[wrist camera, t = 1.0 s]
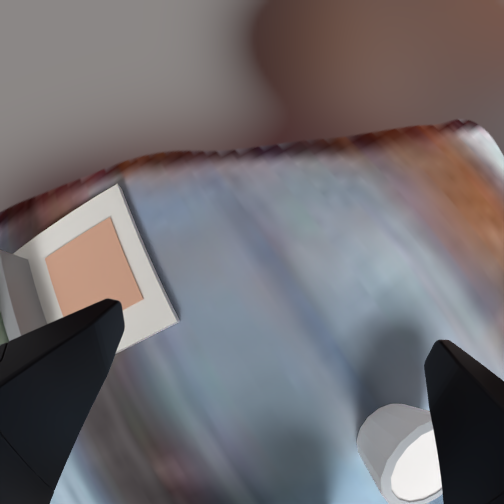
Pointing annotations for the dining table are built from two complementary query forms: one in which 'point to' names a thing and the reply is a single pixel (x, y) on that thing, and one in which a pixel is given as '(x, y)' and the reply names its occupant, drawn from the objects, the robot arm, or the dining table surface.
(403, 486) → the white cup
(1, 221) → the dining table surface
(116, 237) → the white board with socket
